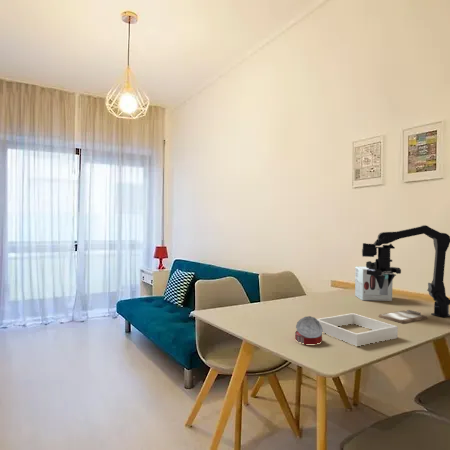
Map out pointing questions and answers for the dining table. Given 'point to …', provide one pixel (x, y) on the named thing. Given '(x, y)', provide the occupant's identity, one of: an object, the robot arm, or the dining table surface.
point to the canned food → (308, 331)
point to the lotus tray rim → (378, 332)
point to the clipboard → (403, 316)
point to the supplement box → (369, 286)
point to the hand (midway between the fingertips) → (383, 288)
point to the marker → (384, 286)
